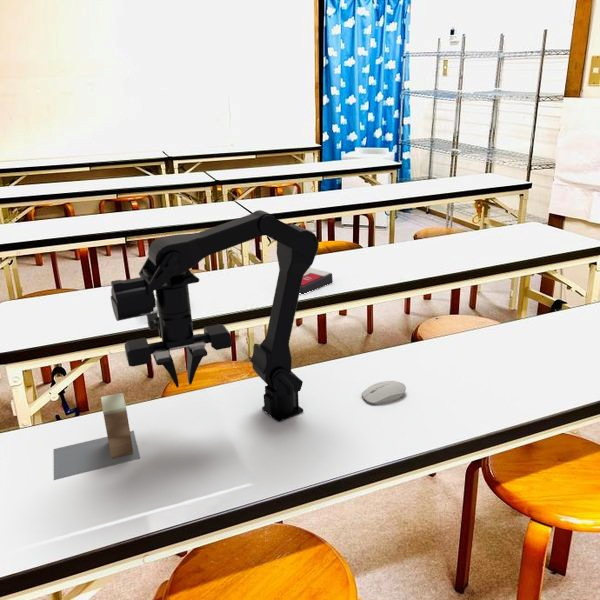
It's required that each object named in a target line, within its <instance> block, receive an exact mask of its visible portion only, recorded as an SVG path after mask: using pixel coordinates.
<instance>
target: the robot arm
mask: <svg viewBox="0 0 600 600" xmlns="http://www.w3.org/2000/svg"><path fill="white" fill-rule="evenodd" d="M263 236H266V237H269V238H270V239H272V240H274V241H275V242H276V259H277V262H278V263H277V265H278V269H279V270H278V275H277V279H276V280H277V281H276V287H275V290H274V291H275V292H274V294H273V295H274V296H273V299H272V307H271V310H270V315H269V321H268V326H267V330H266V335H265V338H264V339H263V341H262V342H261V343H260V344H259V343H254V344H253V347H252V348H253V352H252V356H251V358H250V360H249V361H250V363H251V365H252V367H251V368H252V369H253V371H254V372H255V374H256V375H258V376H259V378H260V379H261V380H263V382H264V383H265V384H266V385H265V386H264V394H263V406H262V407H261V408H262V411H263V412H264V413H266V414H268V416H270V417H271V418H272V419H274V420H275V421H276V422H280V423H281V422H282V421H285V420H287V419H289V418H292V417H294V416H296V415H300V414H302V413H304V408H302V407H301V406H300V404H299V403H300V402H299V392H300V391H301V390H302V386H303V380H302V379H301V378H299V376H297V375H296V374H295V373H294V372H293V371H292V364H293V363H292V361H293V360H292V359H293V358H292V354H291V353H292V352H291V348H290V340H291V335H292V332H293V326H294V320H295V316H296V312H297V307H298V303H299V297H300V294H299V293H300V289H301V284H302V279H303V276H304V274H305V273H306V271H307V270H308V269H309V268H311V267H312V265H313V263H314V261H315V258H316V257H317V253H318V251H319V244H320V243H319V239H318V237H317V236H316V234H315V233H314V232H312V231H311V230H309V229H306V228H304V227H302V226H299V225H296V224H287V223H285V222H283V221H281V220H279V219H278V218H276V217H275V216H274V215H273V214H271V213H269V212H266V211H264V210H261V209H258V210H255V211H253V212H251V213H250V214H247V215H245V216H242V217H239V218H236V219H233V220H231V221H227V222H225V223H221V224H219V225H216V226H213V227H210V228H207V229H204V230H201V231H199V232H195V233H187V234H186V233H185V234H184V233H183V234H173V235H172V234H171V235H168V236H161V237H158V238H156V239H154V240H153V241H152V242H151V244H150V246H149V247H148V252H147V255H148V256H147V258H146V260H145V262H144V264H143V265H142V267H141V269H140V271H139V272H138V275H139V277H134V278H128V279H116V280H112V281H111V282H110V284H111V290H110V291H111V292H110V293H111V296H110V302H111V307H112V311H113V315H114V317H115V320H116V321H117V322H119V321H123V320H129V319H134V318H139V317H144V316H146V320H147V327H148V330H150V331H155V330H158V336H159V338H160V339H161V341H155V342H151V343H148V341H147V337H142V338H136V339H131V340H127V341H126V342H125V343H124V346H123V347H124V351H125V356H126V360H127V364H128V366H129V367H133V368H134V367H137V366H138V367H139V366H142V365H148V364H149V362H151V360H152V356H153V359H154V361H155V364H156V366H163V368H164V369H165V370H166V371H167V372H168V374H169V375H170V378H171V379H172V381H173V383H174V386H175V387H176V388H180V385H179V384H180V383H179V379H178V375H177V372H176V367H175V363H174V360H173V357H172V354H171V351H174V350H181V349H185V348H186V349H185V350H186V364H187V366H186V375H187V383H188V385H189V386H191V385H192V384H193V381H194V378H195V375H196V372H197V369H198V367H199V365H200V363H201V361H202V359H203V358H204V357H207V356H208V351H207V349H206V345H207V344H210V345H211V348H212V349H213V350H216V351H219V350H224V349H228V348H230V349H231V348H232V347H233V343H232V341H233V340H232V335H231V333H230V332H229V330H228V329H227V327H226V326H225V325H224V324H222V323H219V324H214V325H212V324H211V325H207V326H204V327H203V333H194V327H193V319H192V310H191V309H192V308H191V299H190V291H189V285H190V284H191V285H192V284H197V283H199V282H200V278H199V277H198V276H196V275H195V274H194V272H191V269H193V268H194V267H196V266H197V265H198V264H199V263H200V262H201V261H202V260H203V259H205V258H208V257H209V256H212V255H214V254H218V253H219V252H222V251H225V250H229V249H230V248H233V247H236V246H239V245H241V244H244V243H247V242H249V241H252V240H254V239H258V238H260V237H263ZM154 291H155V292H154ZM155 297H156V298H155ZM156 303H157V304H156ZM156 305H157V312H155V308H156Z"/></svg>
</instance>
